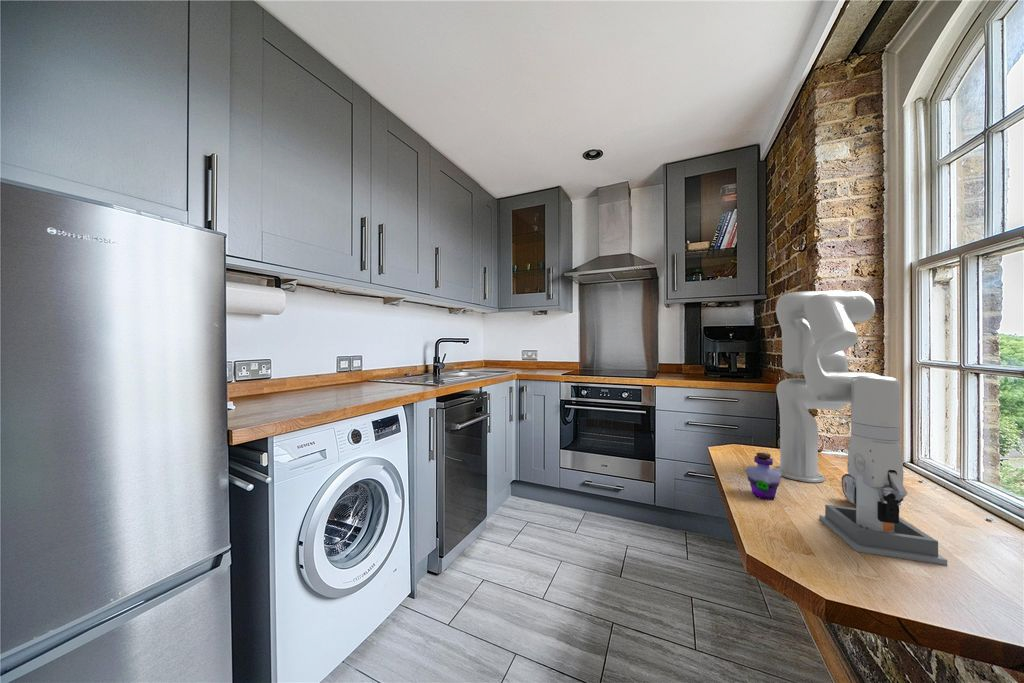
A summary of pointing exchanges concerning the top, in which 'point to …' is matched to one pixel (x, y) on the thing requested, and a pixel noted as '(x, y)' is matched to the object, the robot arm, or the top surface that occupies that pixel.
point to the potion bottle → (763, 477)
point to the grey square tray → (882, 537)
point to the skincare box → (869, 507)
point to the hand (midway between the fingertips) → (875, 512)
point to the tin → (848, 488)
